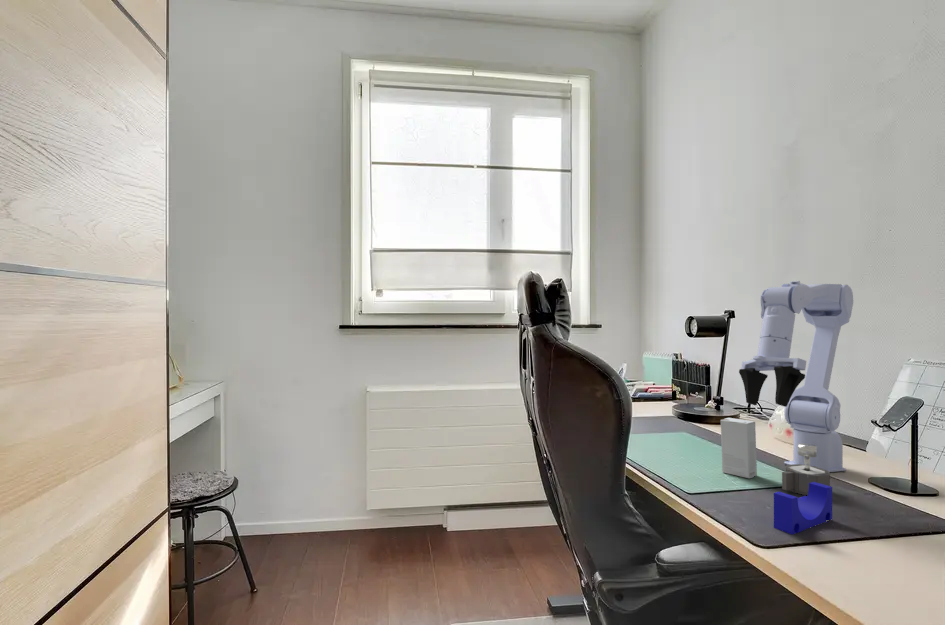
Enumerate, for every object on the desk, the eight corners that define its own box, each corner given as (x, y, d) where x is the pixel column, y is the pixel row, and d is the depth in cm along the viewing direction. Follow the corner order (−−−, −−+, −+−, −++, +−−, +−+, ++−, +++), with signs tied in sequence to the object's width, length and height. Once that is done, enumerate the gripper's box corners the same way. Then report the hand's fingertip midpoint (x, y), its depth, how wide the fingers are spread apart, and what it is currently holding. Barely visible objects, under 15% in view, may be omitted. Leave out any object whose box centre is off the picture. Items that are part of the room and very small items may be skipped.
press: (806, 483, 106) (806, 463, 106) (838, 495, 99) (838, 474, 99) (769, 486, 104) (769, 466, 104) (799, 499, 97) (799, 477, 97)
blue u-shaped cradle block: (805, 512, 91) (805, 479, 91) (832, 521, 87) (832, 486, 87) (765, 525, 86) (765, 490, 86) (792, 535, 82) (792, 498, 82)
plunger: (806, 470, 104) (806, 442, 104) (820, 475, 101) (820, 446, 101) (793, 471, 103) (793, 443, 103) (807, 476, 100) (807, 447, 100)
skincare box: (757, 475, 111) (757, 421, 111) (749, 479, 109) (749, 423, 109) (729, 468, 116) (729, 416, 116) (720, 472, 113) (720, 419, 113)
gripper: (733, 338, 111) (723, 398, 109) (788, 331, 97) (778, 400, 95) (760, 347, 113) (751, 407, 110) (818, 342, 99) (809, 410, 96)
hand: (765, 404), depth 102 cm, fingers open, 7 cm apart
